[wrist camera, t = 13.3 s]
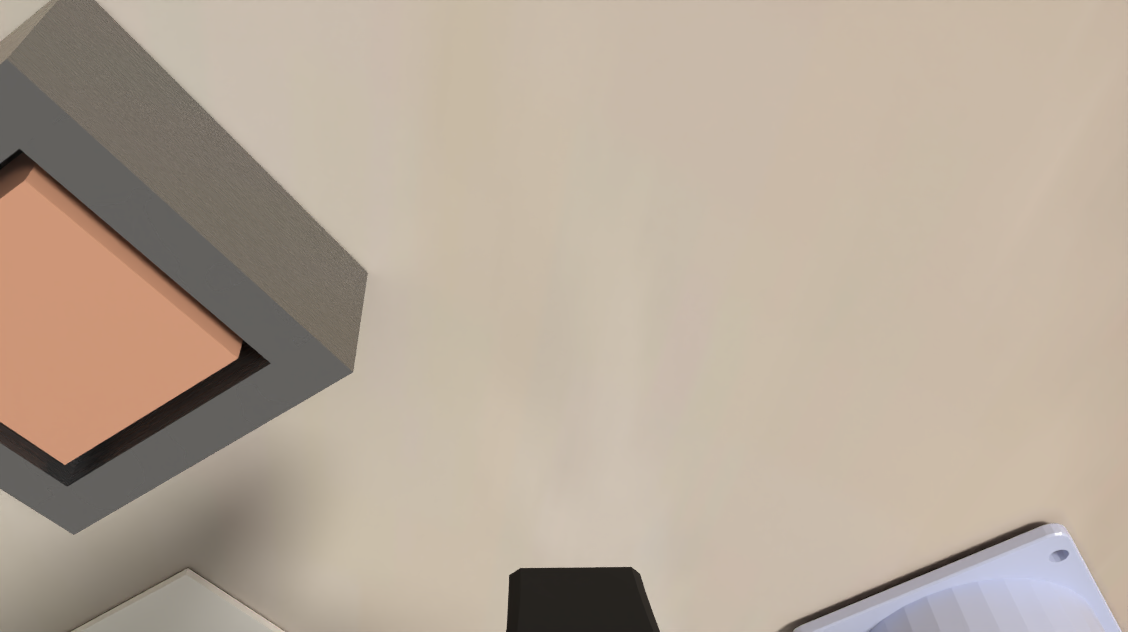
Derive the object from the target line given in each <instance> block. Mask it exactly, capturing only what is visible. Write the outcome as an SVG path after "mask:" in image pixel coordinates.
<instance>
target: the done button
mask: <svg viewBox="0 0 1128 632" xmlns="http://www.w3.org/2000/svg"><path fill="white" fill-rule="evenodd" d="M242 343H243V339H242V338H241V337H239V336H238V335H237V334H236V333H235V332H234V331H232V330H231V329H230V328H229V327H228V326H227V325H225V324H224V323H223V322H222V321H221V320H220V319H218V318H217V317H216V316H215V315H214V314H212V313H211V312H210V311H209V310H208V309H207V308H205V307H204V306H203V305H202V304H201V303H200V302H198V301H197V300H196V299H195V298H194V297H193V296H191V295H190V294H189V293H188V292H187V291H186V290H184V289H183V288H182V287H181V286H180V285H179V284H177V283H176V282H175V281H174V280H173V279H171V278H170V277H169V276H168V275H167V274H166V273H164V272H163V271H162V270H161V269H160V268H159V267H157V266H156V265H155V264H154V263H153V262H152V261H150V260H149V259H148V258H147V257H146V256H145V255H143V254H142V253H141V252H140V251H139V250H138V249H136V248H135V247H134V246H133V245H132V244H130V243H129V242H128V241H127V240H126V239H125V238H123V237H122V236H121V235H120V234H119V233H118V232H116V231H115V230H114V229H113V228H112V227H111V226H109V225H108V224H107V223H106V222H105V221H104V220H102V219H101V218H100V217H99V216H98V215H97V214H95V213H94V212H93V211H92V210H91V209H90V208H88V207H87V206H86V205H85V204H84V203H82V202H81V201H80V200H79V199H78V198H77V197H75V196H74V195H73V194H72V193H71V192H70V191H68V190H67V189H66V188H65V187H64V186H63V185H61V184H60V183H59V182H58V181H57V180H56V179H54V178H53V177H52V176H51V175H50V174H49V173H47V172H46V171H45V170H44V169H43V168H41V167H40V166H39V165H38V164H37V163H36V162H34V161H33V160H32V159H31V158H30V157H29V156H27V155H26V154H25V153H24V152H23V153H21V154H20V155H19V156H17V157H16V158H15V159H13V160H12V161H11V162H9V163H8V164H7V165H6V166H4V167H3V168H2V169H0V422H1V423H3V424H4V425H6V426H7V427H9V428H10V429H12V430H13V431H15V432H16V433H18V434H19V435H21V436H22V437H24V438H25V439H27V440H28V441H30V442H31V443H33V444H34V445H36V446H37V447H39V448H40V449H42V450H43V451H45V452H46V453H48V454H49V455H51V456H52V457H54V458H55V459H57V460H58V461H60V462H61V463H63V464H64V465H66V464H67V463H69V462H71V461H72V460H74V459H75V458H77V457H79V456H80V455H82V454H84V453H85V452H87V451H88V450H90V449H92V448H93V447H95V446H97V445H98V444H100V443H101V442H103V441H105V440H106V439H108V438H110V437H111V436H113V435H114V434H116V433H118V432H119V431H121V430H123V429H124V428H126V427H127V426H129V425H131V424H132V423H134V422H136V421H137V420H139V419H140V418H142V417H144V416H145V415H147V414H149V413H150V412H152V411H153V410H155V409H157V408H158V407H160V406H162V405H163V404H165V403H166V402H168V401H170V400H171V399H173V398H175V397H176V396H178V395H179V394H181V393H183V392H184V391H186V390H188V389H189V388H191V387H192V386H194V385H196V384H197V383H199V382H201V381H202V380H204V379H206V378H207V377H209V376H210V375H212V374H214V373H215V372H217V371H219V370H220V369H222V368H223V367H225V366H227V365H228V364H230V363H232V362H233V361H235V360H236V359H238V357H239V353H240V350H241V346H242Z"/></svg>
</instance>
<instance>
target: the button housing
mask: <svg viewBox="0 0 1128 632" xmlns="http://www.w3.org/2000/svg"><path fill="white" fill-rule="evenodd" d="M23 152H24V153H25V154H26V155H27V156H29V157H30V158H31V159H32V160H33V161H34V162H36V163H37V164H38V165H39V166H40V167H41V168H43V169H44V170H45V171H46V172H47V173H49V174H50V175H51V176H52V177H53V178H54V179H56V180H57V181H58V182H59V183H60V184H61V185H63V186H64V187H65V188H66V189H67V190H68V191H70V192H71V193H72V194H73V195H74V196H75V197H77V198H78V199H79V200H80V201H81V202H82V203H84V204H85V205H86V206H87V207H88V208H90V209H91V210H92V211H93V212H94V213H95V214H97V215H98V216H99V217H100V218H101V219H102V220H104V221H105V222H106V223H107V224H108V225H109V226H111V227H112V228H113V229H114V230H115V231H116V232H118V233H119V234H120V235H121V236H122V237H123V238H125V239H126V240H127V241H128V242H129V243H130V244H132V245H133V246H134V247H135V248H136V249H138V250H139V251H140V252H141V253H142V254H143V255H145V256H146V257H147V258H148V259H149V260H150V261H152V262H153V263H154V264H155V265H156V266H157V267H159V268H160V269H161V270H162V271H163V272H164V273H166V274H167V275H168V276H169V277H170V278H171V279H173V280H174V281H175V282H176V283H177V284H179V285H180V286H181V287H182V288H183V289H184V290H186V291H187V292H188V293H189V294H190V295H191V296H193V297H194V298H195V299H196V300H197V301H198V302H200V303H201V304H202V305H203V306H204V307H205V308H207V309H208V310H209V311H210V312H211V313H212V314H214V315H215V316H216V317H217V318H218V319H220V320H221V321H222V322H223V323H224V324H225V325H227V326H228V327H229V328H230V329H231V330H232V331H234V332H235V333H236V334H237V335H238V336H239V337H241V338H242V339H243V343H242V346H241V350H240V353H239V357H238V359H236V360H235V361H233V362H232V363H230V364H228V365H227V366H225V367H223V368H222V369H220V370H219V371H217V372H215V373H214V374H212V375H210V376H209V377H207V378H206V379H204V380H202V381H201V382H199V383H197V384H196V385H194V386H192V387H191V388H189V389H188V390H186V391H184V392H183V393H181V394H179V395H178V396H176V397H175V398H173V399H171V400H170V401H168V402H166V403H165V404H163V405H162V406H160V407H158V408H157V409H155V410H153V411H152V412H150V413H149V414H147V415H145V416H144V417H142V418H140V419H139V420H137V421H136V422H134V423H132V424H131V425H129V426H127V427H126V428H124V429H123V430H121V431H119V432H118V433H116V434H114V435H113V436H111V437H110V438H108V439H106V440H105V441H103V442H101V443H100V444H98V445H97V446H95V447H93V448H92V449H90V450H88V451H87V452H85V453H84V454H82V455H80V456H79V457H77V458H75V459H74V460H72V461H71V462H69V463H67V464H66V465H64V464H63V463H61V462H60V461H58V460H57V459H55V458H54V457H52V456H51V455H49V454H48V453H46V452H45V451H43V450H42V449H40V448H39V447H37V446H36V445H34V444H33V443H31V442H30V441H28V440H27V439H25V438H24V437H22V436H21V435H19V434H18V433H16V432H15V431H13V430H12V429H10V428H9V427H7V426H6V425H4V424H3V423H1V422H0V489H2V490H3V491H5V492H6V493H8V494H10V495H11V496H13V497H14V498H16V499H18V500H19V501H21V502H22V503H24V504H26V505H27V506H29V507H30V508H32V509H34V510H35V511H37V512H38V513H40V514H41V515H43V516H45V517H46V518H48V519H49V520H51V521H53V522H54V523H56V524H57V525H59V526H61V527H62V528H64V529H65V530H67V531H69V532H70V533H72V534H73V535H74V534H76V533H78V532H80V531H81V530H83V529H85V528H86V527H88V526H90V525H92V524H93V523H95V522H97V521H98V520H100V519H102V518H104V517H105V516H107V515H109V514H110V513H112V512H114V511H116V510H117V509H119V508H121V507H122V506H124V505H126V504H128V503H129V502H131V501H133V500H135V499H136V498H138V497H140V496H141V495H143V494H145V493H147V492H148V491H150V490H152V489H153V488H155V487H157V486H159V485H160V484H162V483H164V482H165V481H167V480H169V479H171V478H172V477H174V476H176V475H177V474H179V473H181V472H183V471H184V470H186V469H188V468H189V467H191V466H193V465H195V464H196V463H198V462H200V461H201V460H203V459H205V458H207V457H208V456H210V455H212V454H213V453H215V452H217V451H219V450H220V449H222V448H224V447H225V446H227V445H229V444H231V443H232V442H234V441H236V440H237V439H239V438H241V437H243V436H244V435H246V434H248V433H250V432H251V431H253V430H255V429H256V428H258V427H260V426H262V425H263V424H265V423H267V422H268V421H270V420H272V419H274V418H275V417H277V416H279V415H280V414H282V413H284V412H286V411H287V410H289V409H291V408H292V407H294V406H296V405H298V404H299V403H301V402H303V401H304V400H306V399H308V398H310V397H311V396H313V395H315V394H316V393H318V392H320V391H322V390H323V389H325V388H327V387H328V386H330V385H332V384H334V383H335V382H337V381H339V380H340V379H342V378H344V377H346V376H347V375H349V374H351V373H352V372H353V369H354V362H355V356H356V349H357V342H358V335H359V328H360V322H361V315H362V308H363V301H364V294H365V288H366V281H367V274H368V273H367V272H366V271H365V270H364V269H363V268H362V267H361V266H360V265H359V264H358V263H357V262H356V261H355V260H354V259H353V258H352V257H351V256H350V255H349V254H348V253H347V252H346V251H345V250H344V249H343V248H342V247H341V246H340V245H339V244H338V243H337V242H336V241H335V240H334V239H333V238H332V237H331V236H330V235H329V234H328V233H327V232H326V231H325V230H324V229H323V228H322V227H321V226H320V225H319V224H318V223H317V222H316V221H315V220H314V219H313V218H312V217H311V216H310V215H309V214H308V213H307V212H306V211H305V210H304V209H303V208H302V207H301V206H300V205H299V204H298V203H297V202H296V201H295V200H294V199H293V198H292V197H291V196H290V195H289V194H288V193H287V192H286V191H285V190H284V189H283V188H282V187H281V186H280V185H279V184H278V183H277V182H276V181H275V180H274V179H273V178H272V177H271V176H270V175H269V174H268V173H267V172H266V171H265V170H264V169H263V168H262V167H261V166H260V165H259V164H258V163H257V162H256V161H255V160H254V159H253V158H252V157H251V156H250V155H249V154H248V153H247V152H246V151H245V150H244V149H243V148H242V147H241V146H240V145H239V144H238V143H237V142H236V141H235V140H234V139H233V138H232V137H231V136H230V135H229V134H228V133H227V132H226V131H225V130H224V129H223V128H222V127H221V126H220V125H219V124H218V123H217V122H216V121H215V120H214V119H213V118H212V117H211V116H210V115H209V114H208V113H207V112H206V111H205V110H204V109H203V108H202V107H201V106H200V105H199V104H198V103H197V102H196V101H195V100H194V99H193V98H192V97H191V96H190V95H189V94H188V93H187V92H186V91H185V90H184V89H183V88H182V87H181V86H180V85H179V84H178V83H177V82H176V81H175V80H174V79H173V78H172V77H171V76H170V75H169V74H168V73H167V72H166V71H165V70H164V69H163V68H162V67H161V66H160V65H159V64H158V63H157V62H156V61H155V60H154V59H153V58H152V57H151V56H150V55H149V54H148V53H147V52H146V51H145V50H144V49H143V48H142V47H141V46H140V45H139V44H138V43H137V42H136V41H135V40H134V39H133V38H132V37H131V36H130V35H129V34H128V33H127V32H126V31H125V30H124V29H123V28H122V27H121V26H120V25H119V24H118V23H117V22H116V21H115V20H114V19H113V18H112V17H111V16H110V15H109V14H108V13H107V12H106V11H105V10H104V9H103V8H102V7H101V6H100V5H99V4H98V3H97V2H96V1H95V0H51V1H50V2H48V3H47V4H46V5H45V6H43V7H42V8H41V9H40V10H39V11H37V12H36V13H35V14H34V15H33V16H31V17H30V18H29V19H28V20H26V21H25V22H24V23H23V24H22V25H20V26H19V27H18V28H17V29H15V30H14V31H13V32H12V33H11V34H9V35H8V36H7V37H6V38H5V39H3V40H2V41H1V42H0V169H2V168H3V167H4V166H6V165H7V164H8V163H9V162H11V161H12V160H13V159H15V158H16V157H17V156H19V155H20V154H21V153H23Z"/></svg>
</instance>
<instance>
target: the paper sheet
mask: <svg viewBox="0 0 1128 632" xmlns="http://www.w3.org/2000/svg"><path fill="white" fill-rule="evenodd" d="M71 632H285V631H283V630H282V629H280V628H279V627H277V626H276V625H274V624H273V623H271V622H269V621H268V620H266V619H265V618H263V617H262V616H260V615H259V614H257V613H256V612H254V611H253V610H251V609H250V608H248V607H247V606H245V605H243V604H242V603H240V602H239V601H237V600H236V599H234V598H233V597H231V596H230V595H228V594H227V593H225V592H224V591H222V590H221V589H219V588H218V587H216V586H214V585H213V584H211V583H210V582H208V581H207V580H205V579H204V578H202V577H201V576H199V575H198V574H196V573H195V572H193V571H192V570H190V569H189V568H187V569H185V570H183V571H182V572H180V573H178V574H176V575H174V576H172V577H171V578H169V579H167V580H165V581H163V582H161V583H159V584H158V585H156V586H154V587H152V588H150V589H148V590H146V591H145V592H143V593H141V594H139V595H137V596H135V597H134V598H132V599H130V600H128V601H126V602H124V603H122V604H121V605H119V606H117V607H115V608H113V609H111V610H110V611H108V612H106V613H104V614H102V615H100V616H98V617H97V618H95V619H93V620H91V621H89V622H87V623H86V624H84V625H82V626H80V627H78V628H76V629H74V630H73V631H71Z"/></svg>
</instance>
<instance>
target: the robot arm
mask: <svg viewBox="0 0 1128 632" xmlns="http://www.w3.org/2000/svg"><path fill="white" fill-rule="evenodd" d="M506 632H660V631H659V628H658V625H657V623H656V620H655V617H654V615H653V612H652V609H651V606H650V603H649V601H648V598H647V595H646V592H645V589H644V586H643V582H642V579H641V576H640V574H639V573H638V572H637V571H636V570H634V569H633V568H632V567H595V568H520V569H518V570H517V571H515V572H514V573H512V574H510V575H509V595H508V615H507V630H506ZM793 632H1122V631H1121V629H1120V628H1119V626H1118V624H1117V622H1116V620H1115V618H1114V616H1113V614H1112V613H1111V611H1110V609H1109V607H1108V605H1107V603H1106V601H1105V599H1104V598H1103V596H1102V594H1101V592H1100V590H1099V588H1098V586H1097V584H1096V583H1095V581H1094V579H1093V577H1092V575H1091V573H1090V571H1089V570H1088V568H1087V566H1086V564H1085V562H1084V560H1083V558H1082V556H1081V555H1080V553H1079V551H1078V549H1077V547H1076V545H1075V543H1074V541H1073V540H1072V538H1071V536H1070V534H1069V533H1068V531H1067V529H1066V528H1065V527H1064V526H1063V525H1060V524H1056V523H1052V524H1046V525H1042V526H1040V527H1037V528H1035V529H1032V530H1030V531H1028V532H1025V533H1023V534H1020V535H1018V536H1015V537H1013V538H1011V539H1008V540H1006V541H1003V542H1001V543H999V544H996V545H994V546H991V547H989V548H986V549H984V550H982V551H979V552H977V553H974V554H972V555H970V556H967V557H965V558H962V559H960V560H957V561H955V562H953V563H950V564H948V565H945V566H943V567H941V568H938V569H936V570H933V571H931V572H928V573H926V574H924V575H921V576H919V577H916V578H914V579H911V580H909V581H907V582H904V583H902V584H899V585H897V586H895V587H892V588H890V589H887V590H885V591H882V592H880V593H878V594H875V595H873V596H870V597H868V598H866V599H863V600H861V601H858V602H856V603H853V604H851V605H849V606H846V607H844V608H841V609H839V610H837V611H834V612H832V613H829V614H827V615H824V616H822V617H820V618H817V619H815V620H812V621H810V622H808V623H805V624H803V625H800V626H799V627H797V628H795V629H794V630H793Z"/></svg>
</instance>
